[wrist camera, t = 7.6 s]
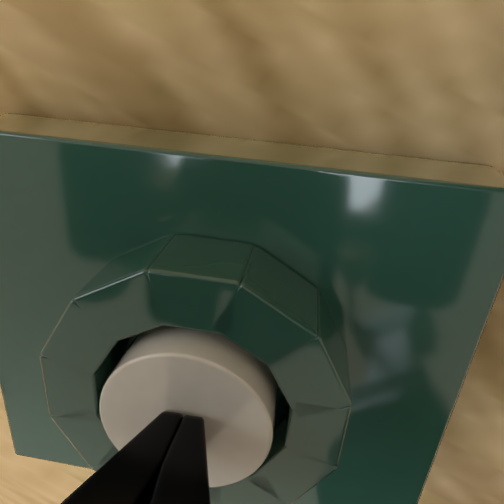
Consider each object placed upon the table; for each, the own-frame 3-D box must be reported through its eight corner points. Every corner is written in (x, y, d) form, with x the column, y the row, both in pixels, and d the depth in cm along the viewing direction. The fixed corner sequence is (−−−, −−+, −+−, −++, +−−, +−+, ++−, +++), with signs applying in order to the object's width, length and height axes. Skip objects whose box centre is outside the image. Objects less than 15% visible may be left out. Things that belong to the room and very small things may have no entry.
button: (288, 317, 9) (282, 371, 8) (271, 436, 11) (264, 502, 9) (128, 293, 10) (91, 340, 8) (135, 413, 11) (103, 472, 9)
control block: (493, 165, 10) (595, 227, 6) (396, 464, 14) (422, 604, 10) (8, 112, 11) (-143, 139, 7) (54, 403, 15) (-29, 510, 12)
